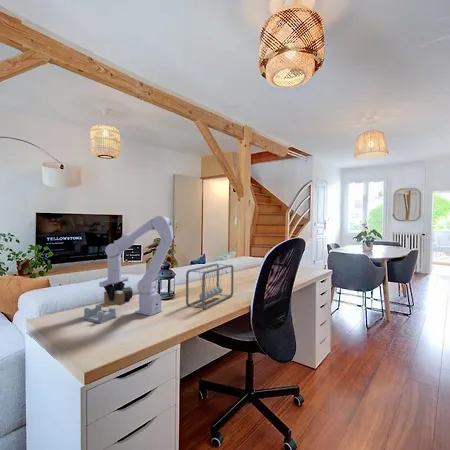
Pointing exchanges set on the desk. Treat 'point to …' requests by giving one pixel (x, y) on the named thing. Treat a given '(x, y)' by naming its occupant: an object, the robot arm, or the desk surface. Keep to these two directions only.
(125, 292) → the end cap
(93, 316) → the display stand
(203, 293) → the newton's cradle
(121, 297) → the tan brown bar
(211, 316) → the desk surface
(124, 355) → the desk surface
